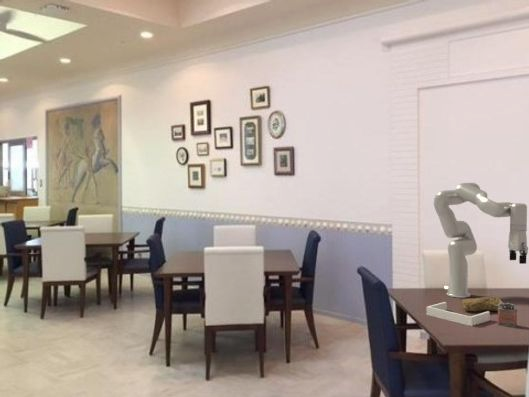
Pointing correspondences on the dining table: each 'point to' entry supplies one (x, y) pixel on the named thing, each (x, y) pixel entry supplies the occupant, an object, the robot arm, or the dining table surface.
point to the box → (456, 315)
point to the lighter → (507, 315)
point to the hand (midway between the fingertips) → (517, 261)
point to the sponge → (481, 304)
